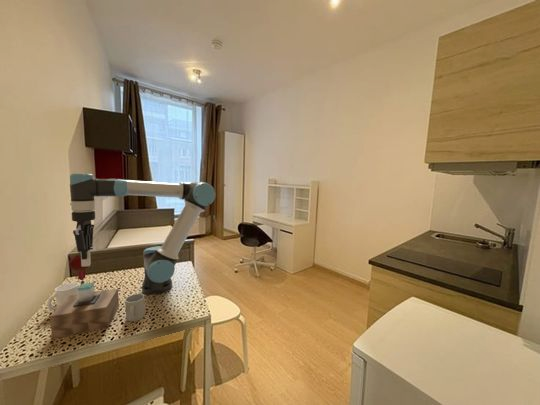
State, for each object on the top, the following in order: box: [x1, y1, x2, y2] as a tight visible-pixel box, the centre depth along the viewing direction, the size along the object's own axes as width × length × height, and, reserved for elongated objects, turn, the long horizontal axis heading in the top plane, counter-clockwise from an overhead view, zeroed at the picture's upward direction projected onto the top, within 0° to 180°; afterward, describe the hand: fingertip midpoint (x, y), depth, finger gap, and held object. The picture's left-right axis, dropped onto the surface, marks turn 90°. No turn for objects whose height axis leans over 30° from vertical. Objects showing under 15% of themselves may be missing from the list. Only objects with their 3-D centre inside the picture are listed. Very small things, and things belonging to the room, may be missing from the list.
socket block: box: [49, 288, 120, 339], centre depth 96 cm, size 18×16×10 cm
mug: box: [46, 281, 80, 311], centre depth 104 cm, size 12×8×10 cm
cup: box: [124, 293, 146, 323], centre depth 97 cm, size 7×10×9 cm
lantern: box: [68, 252, 93, 285], centre depth 121 cm, size 10×10×30 cm
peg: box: [78, 281, 96, 303], centre depth 95 cm, size 4×4×9 cm
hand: (86, 265), depth 96 cm, fingers closed
